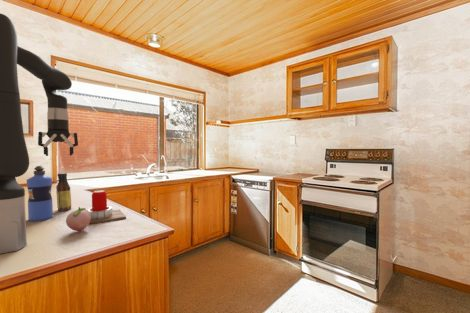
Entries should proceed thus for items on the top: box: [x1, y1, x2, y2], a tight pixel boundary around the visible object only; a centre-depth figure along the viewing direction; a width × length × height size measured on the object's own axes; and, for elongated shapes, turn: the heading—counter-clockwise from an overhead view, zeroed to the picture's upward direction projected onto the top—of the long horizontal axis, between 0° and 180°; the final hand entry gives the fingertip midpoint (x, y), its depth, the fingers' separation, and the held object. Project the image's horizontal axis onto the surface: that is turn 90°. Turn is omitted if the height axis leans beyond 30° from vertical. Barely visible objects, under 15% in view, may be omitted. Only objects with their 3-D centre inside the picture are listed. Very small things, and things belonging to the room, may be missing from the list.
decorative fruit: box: [65, 206, 91, 232], centre depth 96 cm, size 9×8×10 cm
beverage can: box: [91, 189, 108, 211], centre depth 114 cm, size 6×6×12 cm
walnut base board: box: [88, 208, 127, 226], centre depth 114 cm, size 16×20×1 cm
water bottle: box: [26, 165, 54, 222], centre depth 113 cm, size 9×9×25 cm
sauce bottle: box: [55, 172, 72, 212], centre depth 129 cm, size 7×6×20 cm
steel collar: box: [86, 205, 113, 220], centre depth 114 cm, size 10×10×4 cm
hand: (59, 155), depth 107 cm, fingers open, 8 cm apart
